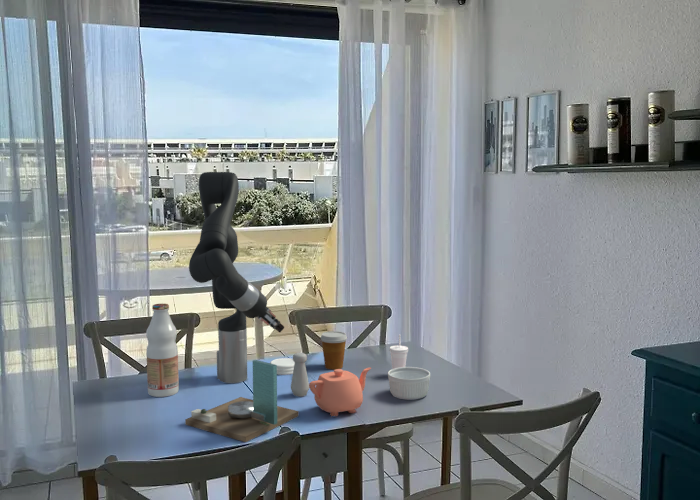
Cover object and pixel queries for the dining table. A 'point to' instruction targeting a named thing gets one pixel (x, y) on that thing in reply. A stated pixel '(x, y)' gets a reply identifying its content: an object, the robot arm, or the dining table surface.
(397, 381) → the ramekin
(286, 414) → the wooden cutting board
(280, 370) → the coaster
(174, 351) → the fruit juice
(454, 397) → the dining table surface
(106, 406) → the dining table surface
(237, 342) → the robot arm
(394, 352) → the smoothie
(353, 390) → the teapot
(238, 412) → the teal flat rectangular slab
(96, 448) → the dining table surface
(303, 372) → the salt shaker
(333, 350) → the disposable coffee cup
